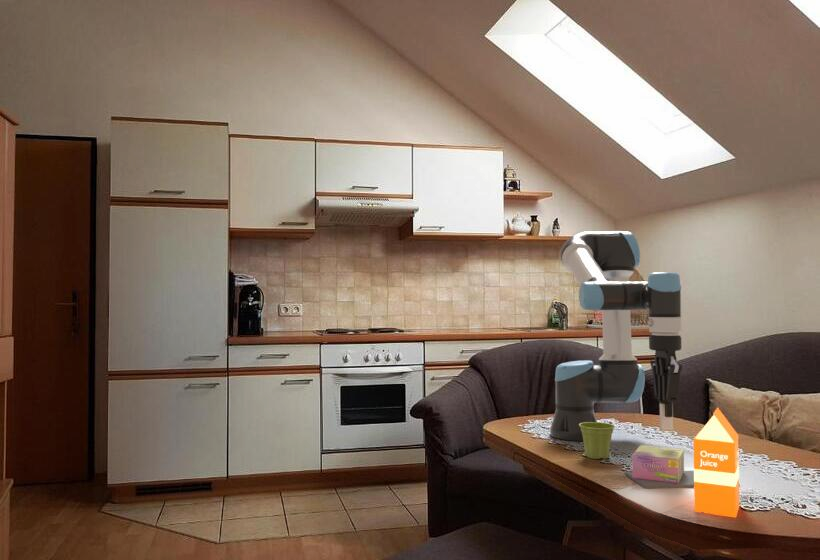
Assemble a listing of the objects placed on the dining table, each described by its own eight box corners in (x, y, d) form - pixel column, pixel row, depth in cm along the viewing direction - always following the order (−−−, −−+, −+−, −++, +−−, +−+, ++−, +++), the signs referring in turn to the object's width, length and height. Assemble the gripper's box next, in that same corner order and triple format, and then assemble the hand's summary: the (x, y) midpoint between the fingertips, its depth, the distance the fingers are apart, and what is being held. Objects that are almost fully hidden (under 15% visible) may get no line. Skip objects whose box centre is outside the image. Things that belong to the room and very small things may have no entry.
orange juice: (693, 511, 133) (692, 412, 134) (699, 499, 141) (698, 405, 141) (737, 517, 129) (735, 415, 130) (740, 505, 137) (738, 408, 137)
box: (639, 467, 166) (631, 478, 155) (639, 444, 166) (631, 453, 156) (684, 472, 161) (679, 484, 151) (684, 449, 161) (679, 458, 151)
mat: (625, 474, 162) (625, 471, 162) (713, 472, 163) (712, 470, 163) (645, 488, 150) (644, 485, 150) (739, 486, 151) (739, 483, 151)
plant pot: (586, 451, 186) (585, 420, 186) (619, 455, 181) (619, 423, 181) (574, 458, 178) (573, 425, 179) (608, 462, 173) (608, 429, 173)
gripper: (639, 333, 171) (641, 424, 170) (661, 335, 158) (663, 435, 157) (668, 333, 171) (669, 424, 170) (692, 335, 158) (693, 434, 157)
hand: (666, 429), depth 164 cm, fingers closed
